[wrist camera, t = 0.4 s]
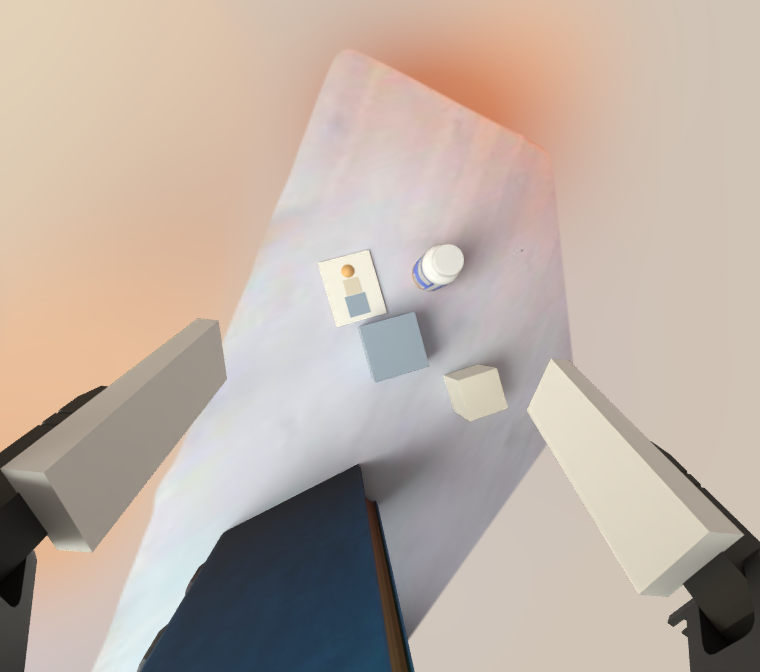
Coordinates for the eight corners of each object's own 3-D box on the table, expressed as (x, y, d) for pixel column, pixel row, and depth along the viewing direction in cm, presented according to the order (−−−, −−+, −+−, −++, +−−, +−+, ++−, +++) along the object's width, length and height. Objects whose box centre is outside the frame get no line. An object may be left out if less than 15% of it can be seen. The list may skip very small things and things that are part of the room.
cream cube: (487, 399, 49) (507, 408, 43) (453, 411, 48) (469, 421, 42) (477, 364, 48) (496, 368, 42) (443, 375, 48) (458, 380, 42)
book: (231, 594, 43) (-11, 1173, 13) (204, 541, 43) (-108, 1017, 13) (381, 514, 46) (459, 838, 16) (358, 463, 46) (393, 702, 16)
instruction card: (386, 313, 46) (387, 312, 46) (336, 327, 45) (336, 327, 45) (368, 250, 46) (368, 249, 46) (317, 263, 45) (317, 262, 45)
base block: (420, 363, 47) (429, 366, 42) (371, 377, 46) (375, 382, 41) (406, 314, 47) (414, 311, 42) (357, 327, 46) (359, 326, 41)
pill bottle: (445, 260, 48) (472, 240, 38) (442, 293, 48) (468, 282, 38) (412, 255, 47) (430, 234, 37) (409, 289, 47) (427, 277, 37)
